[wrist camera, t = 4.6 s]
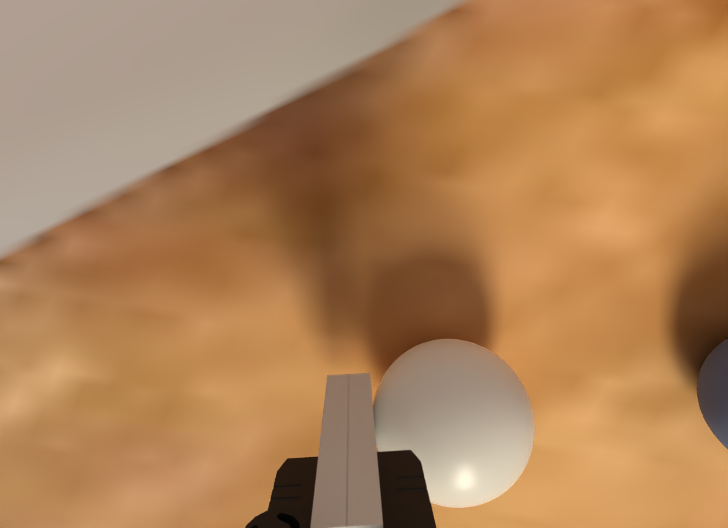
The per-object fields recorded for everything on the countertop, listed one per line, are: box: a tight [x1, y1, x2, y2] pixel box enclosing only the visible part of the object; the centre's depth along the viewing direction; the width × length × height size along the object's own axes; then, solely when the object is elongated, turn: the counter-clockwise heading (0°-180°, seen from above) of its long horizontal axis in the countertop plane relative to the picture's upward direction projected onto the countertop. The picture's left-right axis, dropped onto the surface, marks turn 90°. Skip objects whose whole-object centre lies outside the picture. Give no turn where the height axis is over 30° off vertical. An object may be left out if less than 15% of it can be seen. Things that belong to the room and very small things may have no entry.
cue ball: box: [373, 339, 535, 508], centre depth 16 cm, size 6×6×6 cm
